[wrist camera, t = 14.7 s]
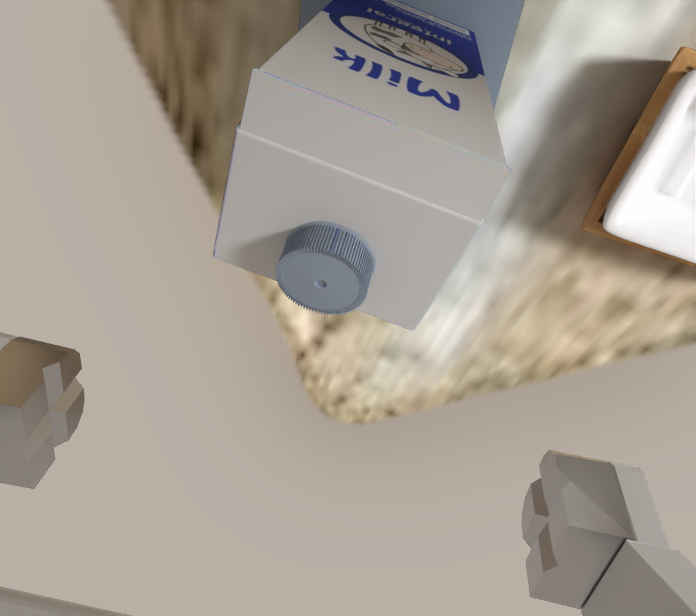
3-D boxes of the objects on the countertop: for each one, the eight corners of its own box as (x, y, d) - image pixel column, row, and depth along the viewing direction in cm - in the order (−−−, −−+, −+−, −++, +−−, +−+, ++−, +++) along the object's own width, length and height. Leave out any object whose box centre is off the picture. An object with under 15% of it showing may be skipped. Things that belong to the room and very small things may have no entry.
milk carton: (478, 33, 33) (516, 173, 16) (426, 153, 37) (412, 368, 20) (348, -20, 32) (246, 67, 16) (308, 107, 36) (191, 288, 19)
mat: (530, -26, 32) (531, -25, 31) (471, 183, 38) (472, 186, 37) (310, -68, 32) (308, -67, 31) (287, 146, 38) (285, 149, 37)
